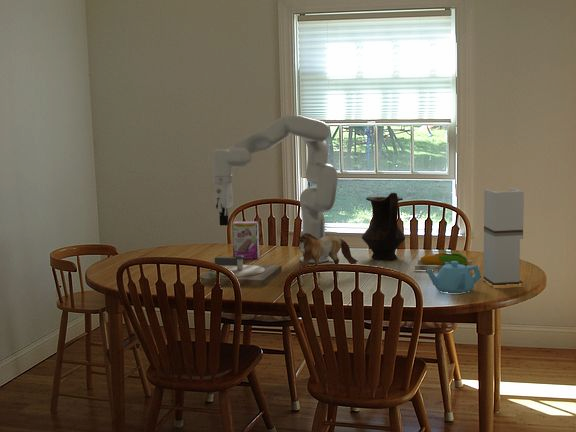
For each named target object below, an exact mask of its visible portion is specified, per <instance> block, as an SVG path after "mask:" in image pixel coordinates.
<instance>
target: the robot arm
mask: <svg viewBox="0 0 576 432" xmlns="http://www.w3.org/2000/svg"><path fill="white" fill-rule="evenodd" d="M330 133H331V130H330V127H329V125H328V124H327V123H326V122H324V121H321V120H318V119H314V118H310V117H306V116H303V115H299V114H284V115H283V116H280V117H279V118H277V119H276V120H274V121H273V122H271V123H270V124H269V125H267V126H265V127H264V128H263V129H261V130H259V131H256V132H254V133H252V134H250V135H248V136H246V137H244V138H242V139H240V140H238V141H237V142H235V143H233V144H232V145H230V146H229V147H228V148H217V149H214V150H213V151H212V177H213V179H212V180H213V181H212V182H213V185H214V208H215V209H217V213H218V216H219V225H220V226H228V225H229V209H230V208H232V207H233V206H234V193H233V186H232V185H233V170H232V169H233V168H232V167H238V168H242V167H243V168H244V167H246V166H248V165H250V164H251V163H252V161H253V160H252V159H253V155H254V154H255V153H258V152H261V151H262V152H263V151H267V150H269V149H273V148H274V147H275V146H277V145H279V144H280V143H282V142H283V141H284V140H286V139H287V138H290V137H291V136H295V137H296V136H297V137H300V138H301V140H303V141H304V142H305V144H306V146H307V151H308V154H307V155H308V156H307V164H306V170H305V171H306V172H305V177H306V178H305V179H306V181H307V183H309V184H310V185H315V186H316V187H307V188H305V189H304V190H302V192H301V193H300V197H299V204H300V210H301V216H302V218H301V219H302V235H303V234H305V233H309V234H311V235H312V236H314V237H316V238H317V239H321V238H322V237H324V236H326V234H325V233H326V232H325V231H326V230H325V229H326V227H325V226H326V224H325V221H326V220H325V215H324V213H328V212H329V211H331V210H332V209H333V207H334V205H335V202H336V198H337V197H336V194H337V189H338V180H339V179H338V177H339V175H338V172H337V169H336V167H335V166H334V165H332V164H330V163H328V160H329V158H328V157H329V148H328V147H329V146H328V144H327V141H326V140H327V139H328V138H329V136H330ZM252 154H253V155H252ZM303 259H304V257H303V255H302V256H300V257H299V261H300V262H302V263H303ZM329 259H330V256H329V254H327V255H325V256H322V257H320V258H319V263H320V264H321V263H325V262H328V261H329ZM307 264H316V263H315V261H314V260H313V259H311V260H309V261H308V263H307Z"/></svg>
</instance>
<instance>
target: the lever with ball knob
mask: <svg viewBox="0 0 576 432" xmlns="http://www.w3.org/2000/svg"><path fill="white" fill-rule="evenodd" d="M243 258H244V255H236V256H235V257H233V256H230V257H229V256H215V257H214V265H215V264H218V265H227V266H237V270H243V264H244V263H243V262H244V259H243Z"/></svg>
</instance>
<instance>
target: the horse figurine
mask: <svg viewBox="0 0 576 432" xmlns="http://www.w3.org/2000/svg"><path fill="white" fill-rule="evenodd" d="M297 237H298V238H299V241H298V244H299V245H300V250H299V252H300V253H301V254H302V256H303V257H304V259H303V262H302V263H301V267H305V266H307V265H308V264H309V263H308V261H309V260H311V259H313V260H314V261H315V263H314V264H315V266H316V265H318V264H319V258H320V257H322V256H325V255H327V254H329V256H330V257H329V259H331V260H332V261H333V264H334V265H335V264H338V265H339V262H340V259H339V257H338V253H339V251H340V250H341V254H342V255H343V258H344V259H346V260H347V262H348V263H349V265H351V264H354V265H357V262H359V260H357V259H355V258H354V257H353V256H352V254H351V248H350V246H349V244H348V243H347V242H346V241H345V240H344V239H342V238H340V237H337V236H334V235H330V234H329V235H325V236H324V237H322V238H321V239H317V238H316V237H314V236H312V235H311V234H309V233H305V234H303V233H302V235H298V236H297ZM305 268H306V267H305ZM303 275H304V274H303ZM303 275H302V276H301V275H300V278H299V280H300V279H301V280H300V281H301V284H302V285H303V286H304V284H305V282H304V280H303V279H304V277H303ZM338 277H339V272H337V278H338ZM317 280H318V284H317V285H320V283H321V273H320V272H319V273H318V272H317Z"/></svg>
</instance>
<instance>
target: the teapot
mask: <svg viewBox="0 0 576 432" xmlns="http://www.w3.org/2000/svg"><path fill="white" fill-rule="evenodd" d="M470 270H471V271H473V273H474V275H472V272H471V273H470ZM426 271H427V272H426V273H427V274H428V277H429V278H430V280H431V282H432V284H433V285H434V287H435V288H436V290H437V291H438V290H439V291H442V292H448V293H462V292H468V291H470V292H472V290H473V289H474V287H475V284H476V283H478V281H480V280H481V279H482V278H483V277H482V275H481V272H480V269H479V266H478V265H477V264H475V265H474V264H472V266H468V267H466V266H465V265H461V264H458V261H451V264H449V262H445V265H444V266H443V267H442V268H441V269H440V271H439V272H437V275H435V272H432V270H431V269H428V270H426ZM439 291H438V292H439Z"/></svg>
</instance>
